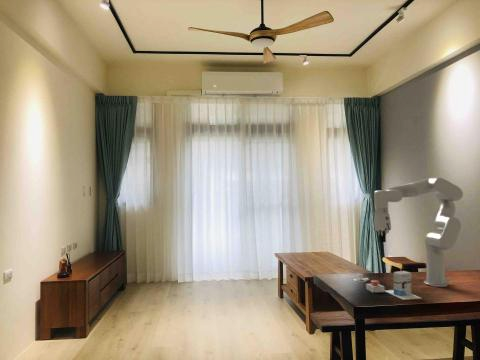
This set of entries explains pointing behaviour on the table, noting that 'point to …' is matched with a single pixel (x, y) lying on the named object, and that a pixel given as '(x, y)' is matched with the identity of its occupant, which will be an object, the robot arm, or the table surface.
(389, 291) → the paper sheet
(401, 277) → the ink box
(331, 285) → the table surface
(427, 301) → the table surface
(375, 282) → the button
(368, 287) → the button housing
